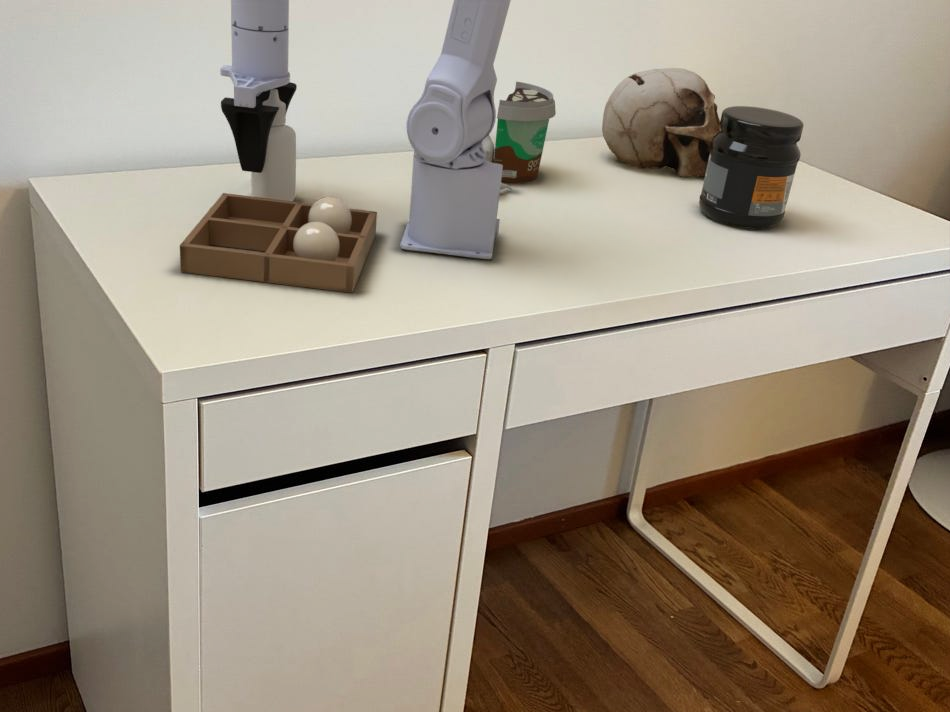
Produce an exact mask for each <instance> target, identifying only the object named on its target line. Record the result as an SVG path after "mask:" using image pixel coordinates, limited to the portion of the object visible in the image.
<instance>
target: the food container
mask: <svg viewBox="0 0 950 712" xmlns="http://www.w3.org/2000/svg"><path fill="white" fill-rule="evenodd" d="M556 112H557V111H556V101H555V99H554V94H553V93H552V91H550V90H548V89H546V88H544V87H541V86H539V85H536V84H532V83H527V82H522V81H515V88H514V91H513V92H512V93H510V94H508V96H507V97H506V99H505V100H504V99H499V102H498V109H497V114H496V119H497V124H496V132H495V133H496V134H495V143H494V147H495V153H494V163H497V164H501V165H503V169H502V178H501V183H503V184H509V185H514V184H515V185H516V184H517V185H518V184H527V183H532V182H534V181H536V180H537V179H538V177H539V176H538V175H539V171H540V167H541V166H540V165H541V162H542V157H543V152H544V147H545V143H546V137H547V133H548V127H549V124H550V123H549V122H550V119H552V118H554V117H555V116H556V114H557V113H556Z"/></svg>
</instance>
